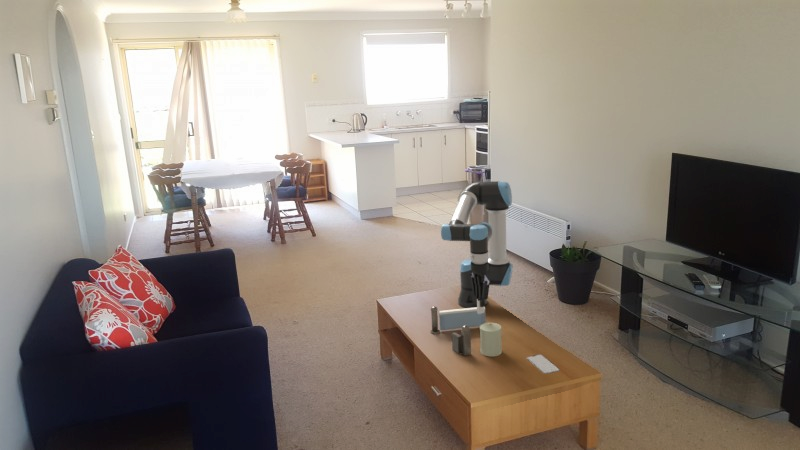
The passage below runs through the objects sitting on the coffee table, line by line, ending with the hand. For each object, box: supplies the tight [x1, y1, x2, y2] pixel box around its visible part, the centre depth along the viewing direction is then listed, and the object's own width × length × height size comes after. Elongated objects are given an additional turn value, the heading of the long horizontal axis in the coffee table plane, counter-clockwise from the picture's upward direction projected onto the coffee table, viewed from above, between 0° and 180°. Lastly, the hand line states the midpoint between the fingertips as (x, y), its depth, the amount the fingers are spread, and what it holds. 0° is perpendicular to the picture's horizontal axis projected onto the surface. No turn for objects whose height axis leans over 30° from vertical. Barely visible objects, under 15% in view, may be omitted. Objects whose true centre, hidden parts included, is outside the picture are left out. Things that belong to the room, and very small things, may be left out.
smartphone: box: [526, 353, 561, 375], centre depth 236 cm, size 7×1×15 cm
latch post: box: [451, 325, 472, 357], centre depth 249 cm, size 5×8×13 cm, turn 27°
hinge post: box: [429, 306, 441, 335], centre depth 270 cm, size 4×4×13 cm
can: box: [479, 322, 503, 358], centre depth 248 cm, size 9×9×12 cm
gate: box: [438, 306, 487, 331], centre depth 272 cm, size 22×2×9 cm, turn 97°
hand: (480, 312), depth 252 cm, fingers closed
